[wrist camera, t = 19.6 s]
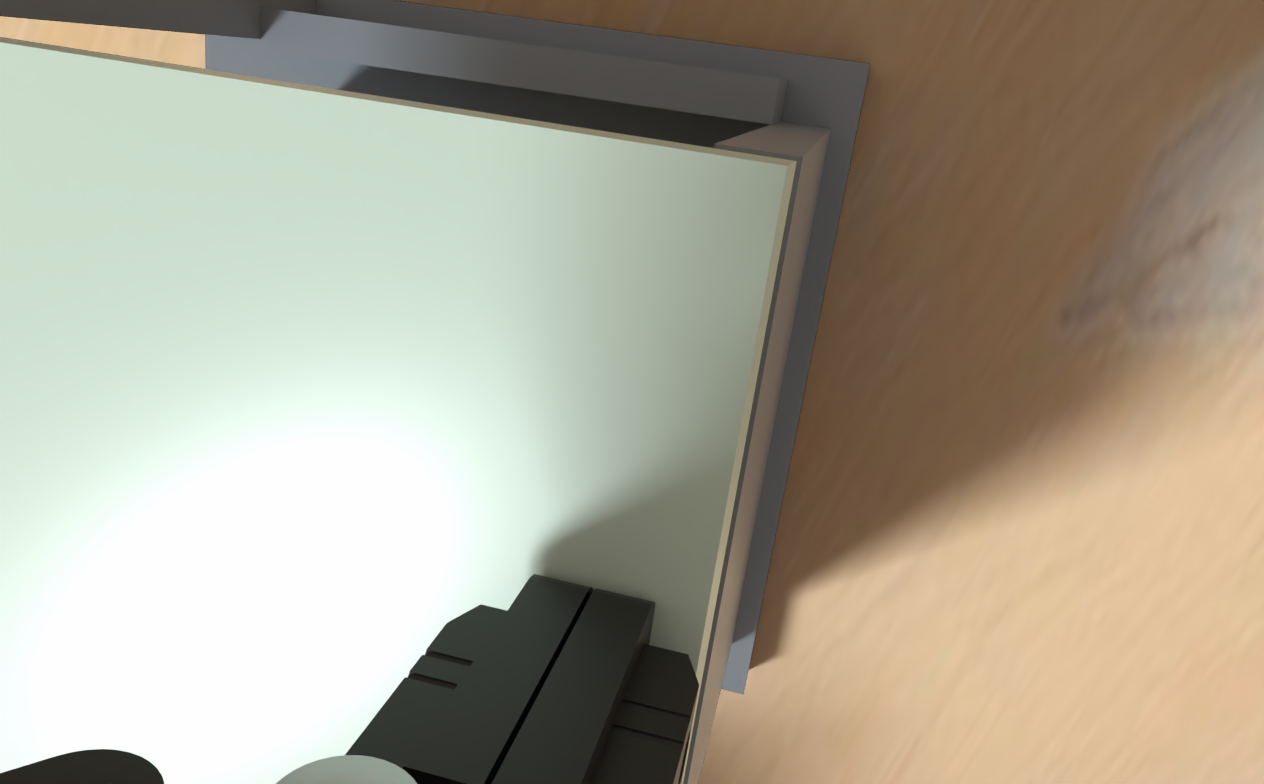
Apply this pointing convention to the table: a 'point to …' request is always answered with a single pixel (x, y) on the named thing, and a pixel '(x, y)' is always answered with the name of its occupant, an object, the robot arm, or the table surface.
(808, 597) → the table surface
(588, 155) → the lid
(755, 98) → the housing
